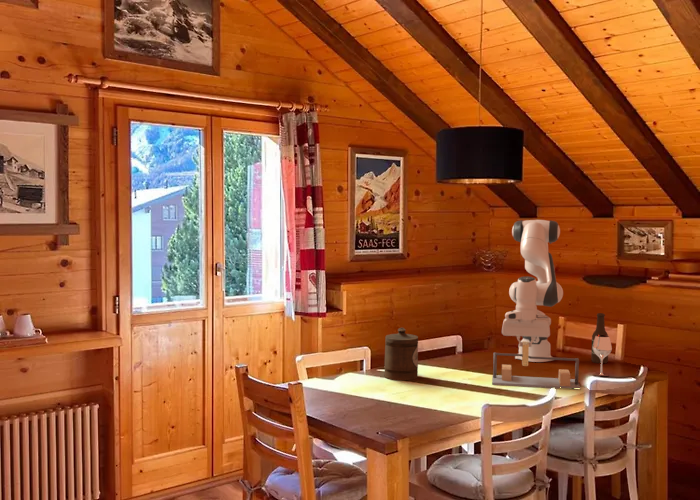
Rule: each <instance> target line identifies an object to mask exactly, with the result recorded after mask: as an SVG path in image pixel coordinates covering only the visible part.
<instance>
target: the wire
mask: <svg viewBox="0 0 700 500" xmlns="http://www.w3.org/2000/svg"><path fill="white" fill-rule="evenodd" d="M496 353H497V356H506V357H507V356H509V357H515V356H522V357H523V354H518V353H505V352H502V353H501V352H496ZM528 358H530V359H549V360H552V361H570V362H571V361H574V362H575V361H576V359H575V358H572V357H571V358H570V357H569V358H568V357H553V356H552V357H532V356H528Z"/></svg>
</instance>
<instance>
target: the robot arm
mask: <svg viewBox="0 0 700 500" xmlns="http://www.w3.org/2000/svg"><path fill="white" fill-rule="evenodd" d="M511 228H512V229H511V235H512V237H513V240H514V241H516V242H519V243H520V247H519V248H520V256H522V258H523V259H524V270H526V272H527V273H528V274H530V275H532V276H520V277H518V279H517V281H515V282H513V283H511V285H509V286H510V287H509V291H508V294H509V297H510V299H511V300H512V301H513V302H514V303H515V304H516V305H515V309H514V310H511V311H507V312H506V313H505V314H504V317H505V318H504V319H503V322H502V327H501V335H503V336H506V337H511V336H512V337H516V339H517V342H518V353H517V354H522V347H523V342H528V344H529V355H528V356H532V357H553V356H552V355H551V343H550V342H549V341H548V338H549V337H550V336H551V329H550V326H551V324H552V318H551V317H549V316H548V315H546V313H544V312H543V311H541V310H539V309H538V307H537V306H543V307H549V308H552V307H554V306H555V305H556V304H558V303H560V302H561V300H562V299H563V296H564V290H563V288H562V287H563V286H562V285H560V283H559V282H557V278H556V270H555V264H554V259H553V255H552V253H551V252H549V245H551V244H553V243H555V242H557V241H558V240H559V237H560V235H561V228H560V225H559V223H558V222H557V221H555V220H551V219H550V220H545V219H530V220H529V219H526V220H523V219H522V220H517V221H515V222H514V223H513V226H512V227H511ZM548 243H549V244H548ZM533 276H534V277H533ZM535 277H536V278H535ZM536 279H537V280H536ZM521 337H522V339H521ZM520 339H521V340H520ZM522 341H523V342H522ZM514 359H515V360H516V359H517V360H521V361H522V356H514ZM551 361H553V360H549V359H530V358H528V362H533V363H535V362H536V363H544V362H546V363H547V362H551Z"/></svg>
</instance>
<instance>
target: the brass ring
mask: <svg viewBox="0 0 700 500" xmlns="http://www.w3.org/2000/svg"><path fill="white" fill-rule="evenodd" d="M521 341H522V340H521ZM522 342H523V341H522ZM522 354H523V357H522V360H521V365H522V367H523V366H524V367H528V366H529V361H528V355H529V344H528V342H523V347H522Z"/></svg>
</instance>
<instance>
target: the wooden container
mask: <svg viewBox="0 0 700 500" xmlns="http://www.w3.org/2000/svg"><path fill="white" fill-rule="evenodd" d="M384 340H385V342H384V344H385V345H384V378H386V379H389V380H393V381H411V380H415V379H417V378H418V375H419V373H418V371H419V370H418V369H419V336H418V335H417V334H416V335H415V334H410V333H406V328H404V327H400V328H398V329H397V333H391V334H386V335H385V339H384Z"/></svg>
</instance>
